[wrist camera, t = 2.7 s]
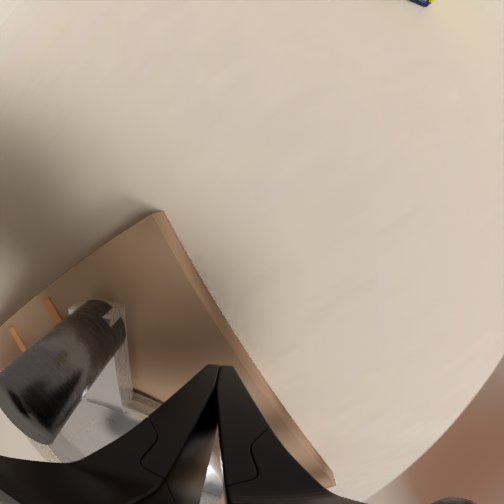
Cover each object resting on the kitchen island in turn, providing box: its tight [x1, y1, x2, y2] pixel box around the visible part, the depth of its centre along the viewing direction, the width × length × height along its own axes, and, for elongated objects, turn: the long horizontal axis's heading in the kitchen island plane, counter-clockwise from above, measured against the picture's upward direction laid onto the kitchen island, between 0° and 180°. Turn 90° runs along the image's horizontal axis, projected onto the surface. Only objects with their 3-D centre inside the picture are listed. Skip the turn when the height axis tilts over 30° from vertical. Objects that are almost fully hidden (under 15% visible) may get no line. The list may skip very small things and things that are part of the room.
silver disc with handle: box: [0, 296, 223, 504], centre depth 9 cm, size 17×12×7 cm
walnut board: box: [0, 211, 336, 504], centre depth 14 cm, size 22×18×2 cm
